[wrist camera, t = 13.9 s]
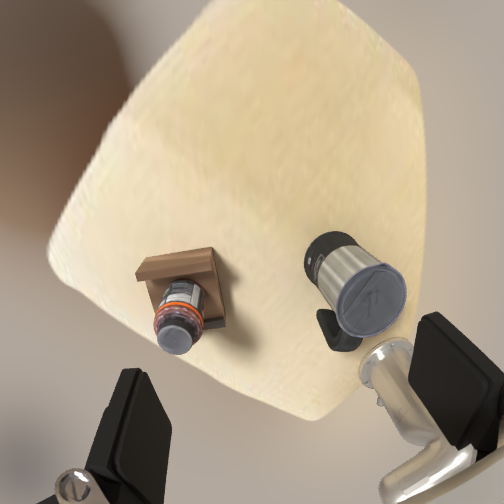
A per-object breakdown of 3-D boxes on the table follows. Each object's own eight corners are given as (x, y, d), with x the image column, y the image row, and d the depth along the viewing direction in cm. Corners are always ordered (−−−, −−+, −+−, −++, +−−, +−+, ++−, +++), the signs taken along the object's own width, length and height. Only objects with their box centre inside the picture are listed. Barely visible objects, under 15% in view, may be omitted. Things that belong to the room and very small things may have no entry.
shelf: (225, 315, 47) (226, 337, 41) (165, 324, 47) (158, 345, 41) (211, 246, 43) (209, 261, 38) (145, 257, 43) (135, 273, 37)
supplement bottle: (201, 318, 43) (196, 367, 33) (162, 308, 42) (145, 356, 32) (210, 282, 42) (206, 326, 31) (168, 272, 41) (150, 313, 30)
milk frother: (301, 233, 44) (335, 272, 30) (394, 221, 44) (452, 250, 30) (306, 317, 48) (333, 376, 34) (391, 299, 49) (436, 346, 35)
